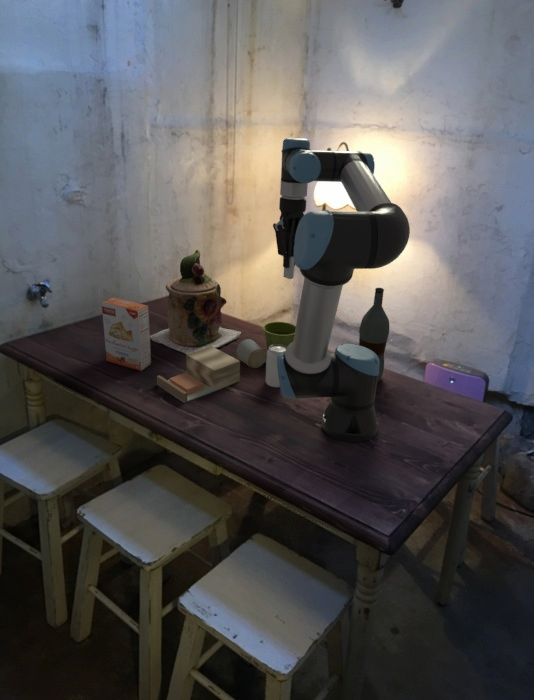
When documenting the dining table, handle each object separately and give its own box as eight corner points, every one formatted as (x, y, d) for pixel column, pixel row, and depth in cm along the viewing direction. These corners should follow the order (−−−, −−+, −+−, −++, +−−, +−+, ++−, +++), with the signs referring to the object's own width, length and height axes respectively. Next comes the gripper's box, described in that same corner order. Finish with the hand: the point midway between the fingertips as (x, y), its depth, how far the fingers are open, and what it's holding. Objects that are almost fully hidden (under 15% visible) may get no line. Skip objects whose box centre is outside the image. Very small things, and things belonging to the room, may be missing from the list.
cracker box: (105, 362, 186) (100, 301, 177) (117, 355, 191) (113, 296, 182) (140, 372, 181) (136, 310, 172) (152, 364, 186) (149, 304, 177)
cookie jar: (146, 340, 203) (141, 252, 190) (192, 320, 222) (191, 239, 208) (198, 360, 191) (198, 267, 177) (243, 337, 209) (245, 252, 196)
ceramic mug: (248, 371, 184) (249, 350, 181) (235, 361, 190) (236, 340, 187) (275, 365, 190) (277, 344, 187) (261, 355, 196) (263, 335, 193)
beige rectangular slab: (239, 381, 178) (240, 361, 175) (214, 391, 172) (214, 370, 169) (211, 365, 187) (211, 346, 184) (186, 374, 181) (186, 354, 178)
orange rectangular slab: (187, 389, 167) (187, 395, 168) (203, 383, 171) (203, 389, 172) (169, 378, 173) (169, 384, 174) (185, 372, 177) (185, 378, 178)
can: (290, 383, 178) (292, 348, 173) (276, 390, 174) (278, 354, 169) (275, 376, 182) (277, 342, 177) (261, 382, 178) (262, 347, 173)
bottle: (387, 383, 181) (400, 293, 168) (359, 385, 179) (370, 294, 166) (376, 370, 189) (388, 283, 177) (349, 371, 187) (359, 284, 175)
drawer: (214, 391, 172) (214, 382, 170) (184, 403, 165) (184, 393, 164) (186, 374, 181) (186, 365, 180) (157, 384, 174) (156, 376, 173)
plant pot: (290, 369, 187) (292, 337, 183) (256, 362, 191) (257, 331, 186) (300, 354, 198) (302, 324, 193) (268, 348, 201) (269, 319, 196)
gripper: (299, 192, 167) (294, 270, 177) (267, 196, 158) (263, 278, 168) (318, 196, 162) (312, 276, 172) (286, 201, 154) (281, 285, 163)
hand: (288, 277), depth 170 cm, fingers closed
